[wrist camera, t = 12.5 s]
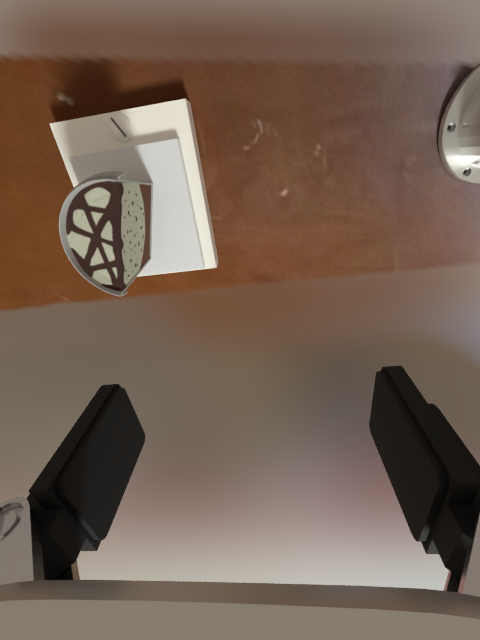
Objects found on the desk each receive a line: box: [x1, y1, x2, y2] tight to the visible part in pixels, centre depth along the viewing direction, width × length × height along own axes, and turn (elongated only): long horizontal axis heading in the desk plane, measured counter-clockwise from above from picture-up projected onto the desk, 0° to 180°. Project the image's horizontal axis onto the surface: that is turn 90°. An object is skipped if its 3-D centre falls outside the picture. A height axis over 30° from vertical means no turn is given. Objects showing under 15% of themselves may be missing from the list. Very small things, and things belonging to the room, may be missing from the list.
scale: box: [50, 99, 218, 277], centre depth 36 cm, size 16×19×4 cm
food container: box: [59, 171, 153, 296], centre depth 31 cm, size 12×6×10 cm, turn 169°
